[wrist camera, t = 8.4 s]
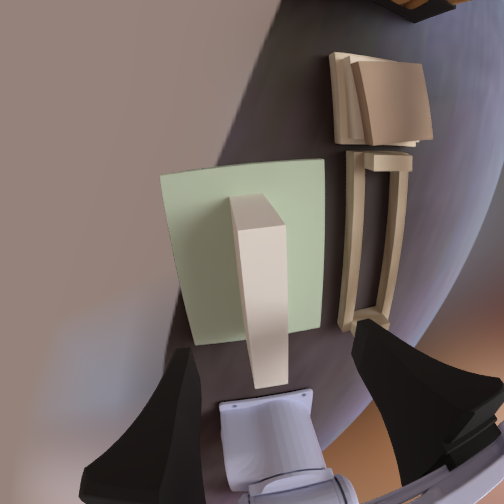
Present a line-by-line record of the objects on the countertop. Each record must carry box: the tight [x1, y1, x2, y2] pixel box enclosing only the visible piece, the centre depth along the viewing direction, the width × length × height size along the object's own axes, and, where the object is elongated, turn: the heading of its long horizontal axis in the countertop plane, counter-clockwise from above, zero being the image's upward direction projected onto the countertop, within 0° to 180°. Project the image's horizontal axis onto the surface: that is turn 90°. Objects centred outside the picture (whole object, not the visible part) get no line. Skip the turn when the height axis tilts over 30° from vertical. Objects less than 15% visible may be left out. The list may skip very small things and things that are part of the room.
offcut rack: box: [329, 52, 433, 337], centre depth 18 cm, size 6×20×3 cm, turn 5°
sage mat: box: [160, 158, 325, 345], centre depth 19 cm, size 10×13×1 cm
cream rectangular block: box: [229, 193, 288, 389], centre depth 17 cm, size 2×10×6 cm, turn 4°
